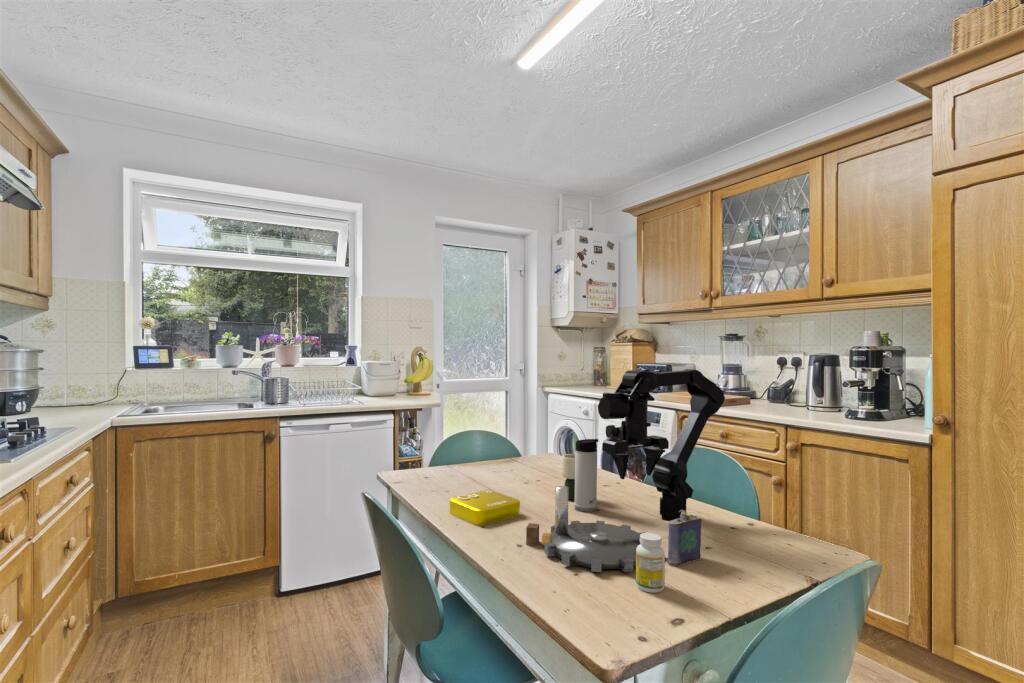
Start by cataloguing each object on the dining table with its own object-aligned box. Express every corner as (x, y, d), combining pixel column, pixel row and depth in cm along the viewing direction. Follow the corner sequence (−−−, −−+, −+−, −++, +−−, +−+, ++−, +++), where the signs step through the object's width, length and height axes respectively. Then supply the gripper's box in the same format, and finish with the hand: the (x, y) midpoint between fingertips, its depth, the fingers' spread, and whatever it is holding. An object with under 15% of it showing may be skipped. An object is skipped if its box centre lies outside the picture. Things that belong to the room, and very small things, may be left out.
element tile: (479, 528, 129) (479, 509, 129) (446, 513, 140) (446, 496, 140) (522, 516, 139) (523, 498, 139) (488, 503, 150) (488, 487, 150)
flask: (674, 567, 106) (674, 515, 106) (663, 562, 108) (663, 512, 109) (703, 559, 111) (704, 509, 111) (692, 554, 113) (693, 506, 113)
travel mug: (597, 513, 141) (598, 441, 142) (573, 511, 143) (574, 440, 143) (598, 506, 148) (598, 437, 148) (575, 504, 149) (576, 436, 149)
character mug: (594, 501, 152) (594, 458, 152) (574, 505, 149) (575, 460, 149) (572, 492, 162) (572, 451, 162) (553, 495, 158) (554, 453, 158)
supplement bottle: (657, 596, 93) (657, 543, 93) (630, 587, 97) (631, 536, 97) (669, 586, 97) (669, 535, 97) (643, 578, 101) (643, 529, 101)
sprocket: (666, 540, 120) (666, 487, 120) (642, 582, 97) (643, 517, 98) (566, 522, 131) (566, 474, 132) (524, 556, 109) (525, 498, 109)
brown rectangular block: (539, 541, 120) (539, 524, 120) (536, 545, 117) (536, 528, 117) (529, 539, 120) (529, 523, 120) (526, 544, 117) (526, 527, 117)
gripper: (640, 413, 146) (640, 467, 146) (589, 416, 137) (588, 474, 136) (670, 417, 136) (669, 476, 136) (617, 421, 127) (616, 483, 127)
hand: (635, 477), depth 134 cm, fingers open, 9 cm apart
